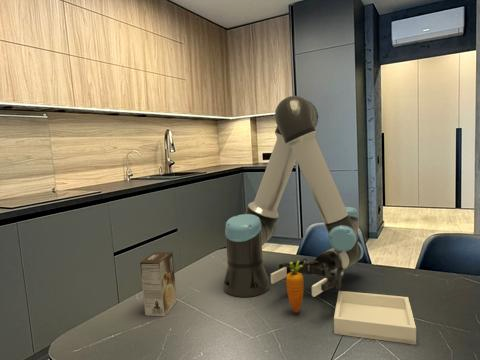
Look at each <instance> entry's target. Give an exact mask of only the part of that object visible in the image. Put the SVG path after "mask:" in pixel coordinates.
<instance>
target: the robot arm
mask: <svg viewBox="0 0 480 360" xmlns="http://www.w3.org/2000/svg"><path fill="white" fill-rule="evenodd" d="M274 121H275V124H276V127H275V130H274V135H275V136H276V141H275V144H274V147H273V149H272V151H271V155H270V157H269V160H268V163H267V166H266V168H265V170H264V171H265V172H264V174H263V176H262V179H261V182H260V183H259V186H258V190H257V193H256V196H255V197H254V200H253V201H251V202H250V203H248V205H247V208H246V210H245V213H244V214H238V215H233V216H232V217H230V218H228V219H227V221H226V222H225V228H224V229H225V231H224V235H225V246H226V257H227V258H226V259H227V267H226V271H225V275H224V279H223V291H224V292H225V293H226V294H228V295H229V296H232V297H237V298H238V297H239V298H249V297H250V298H251V297H255V296H260V295H262V294H264V293H266V292H267V291H268V290H269V289H270V283H271V284H275V283H277V282H279V281H281V280H283V279H286V275H287V274H288V273H291V272H292V271H291V268H290V264H289V263H290V262H291V261H290V262H286V263H285V262H283V263H279V264H278V269H277V270H275V271H274V272H272V273H270V279H269V277H268V273H267V272H266V268H265V266H264V260H263V257H264V256H263V246H264V245H265V244H266V243H267V242H268V241H269V240H271V239H272V237H273V236H274V234H275V232H276V228H277V222H278V219H279V215H280V214H279V212H278V207H279V204H280V202H281V200H282V197H283V194H284V192H285V189H286V186H287V184H288V182H289V179H290V176H291V173H292V171H293V168H294V166H295V163H296V162H297V164H298V167H299V169H300V171H301V173H302V175H303V178H304V180H305V183H306V185H307V187H308V189H309V191H310V194H311V196H312V198H313V202H314V203H315V206H316V208H317V210H318V213H319V214H320V216H321V219H322V222H323V224H324V226H325V229H326V232H327V233H328V243H329V245H330V247H331V248H330V249H328V250H326V251H324V252H322V253H320V254H318V255H317V256H316V258H315V260H313V261H308V259H307V258H302V259H301V260H299V261H300V262H299V265H298V266H300V265H302V266H303V267H302V268H300V269H299V270H298V273H301V274H302V275H303V274H305V275H307V276H308V275H309V276H310V275H315V276H318V277H321V276H322V277H323V279H321V280H319V281H318V282H316V283H314V284H313V285H312V286H311V297H316V296H318V295H320V294H321V293H323V292H326V291H329V290H330V289H333V288H335V289H336V290H340V289H341V286H342V279H343V278H344V271H345V270H346V269H347V268H350V267H352V266H353V265H355V264H357V263H358V262H359V261H360V260H361V259H362V258H363V256H364V248H363V246H362V244H361V243H360V241H359V221H358V220H359V216H358V215H359V214H358V210H357V208H355V207H350V206H346V205H345V203H344V202H343V199H342V197H341V195H340V192H339V190H338V186H337V185H336V183H335V181H334V179H333V175H332V174H331V171H330V170H329V167H328V165H327V162H326V160H325V158H324V155H323V153H322V151H321V149H320V146H319V144H318V142H317V140H316V133H317V131H316V127H317V125H318V122H319V112H318V109H317V108H316V106H315V105H314V103H312V102H311V101H309V99H306V98H303V97H301V96H300V95H299V96H298V95H292V96H291V95H290V96H287V97H285V98H284V99H282V100H280V102H279V103H278V105H277V106H276V108H275V112H274ZM297 261H298V260H296V261H292V262H293V266H294V268H295V267H296V263H297ZM334 277H335V279H334Z"/></svg>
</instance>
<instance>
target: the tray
mask: <svg viewBox="0 0 480 360" xmlns="http://www.w3.org/2000/svg"><path fill="white" fill-rule="evenodd" d="M333 332H334V333H333V334H334V335H340V336H341V335H342V336H349V337H357V338H365V339H372V340H377V341H378V340H379V341H385V342H394V343H400V344H401V343H402V344H409V345H415V346H417V326H416V323H415V319H414V314H413V311H412V307H411V303H410V300H409V296H398V295H389V294H388V295H387V294H379V293H366V292H365V293H364V292H355V291H346V290H345V291H344V290H338V293H337V299H336V305H335V310H334V317H333Z"/></svg>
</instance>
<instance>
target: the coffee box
mask: <svg viewBox="0 0 480 360" xmlns="http://www.w3.org/2000/svg"><path fill="white" fill-rule="evenodd" d="M173 253H174V252H172V251H170V252H169V251H167V252H166V251H163V252H160V251H159V252H153V253H151V254H149V255H148V256H147V257H146V258H144V259H143V260H141V261H140V263H139V264H140V265H139V266H140V273H141V274H140V276H141V285H142V296H143V305H144V307H143V308H144V315H145V316H147V317H148V316H150V317H166V316H167V314H168V313H169V312H170V311H171V309H172V308H173V307H174V306H175V305H176V303H177V302H178V301H177V300H178V299H177V289H176V277H175V265H174V254H173Z"/></svg>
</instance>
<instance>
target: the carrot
mask: <svg viewBox="0 0 480 360" xmlns="http://www.w3.org/2000/svg"><path fill="white" fill-rule="evenodd" d="M296 261H297V263H296V267H295V268H294V266H293V262H294V261H290V263H289V262H288V263H289V264H290V268H291V271H292V272H291V273H288V274H287V275H286V277H285V279H286V280H285V283H286V290H287V291H286V293H287V297H288V301H289V302H288V303H289V305H290V307H291V310H292V311H293V312H294V313H295V314H297V313H298V312H299V311H300V309H301V306H302V303H303V298H304V276H303V274H301V273H298V270H299V269H300V268H302V267H303V266H302V265H300V266H298V265H299V262H300V260H296Z"/></svg>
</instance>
